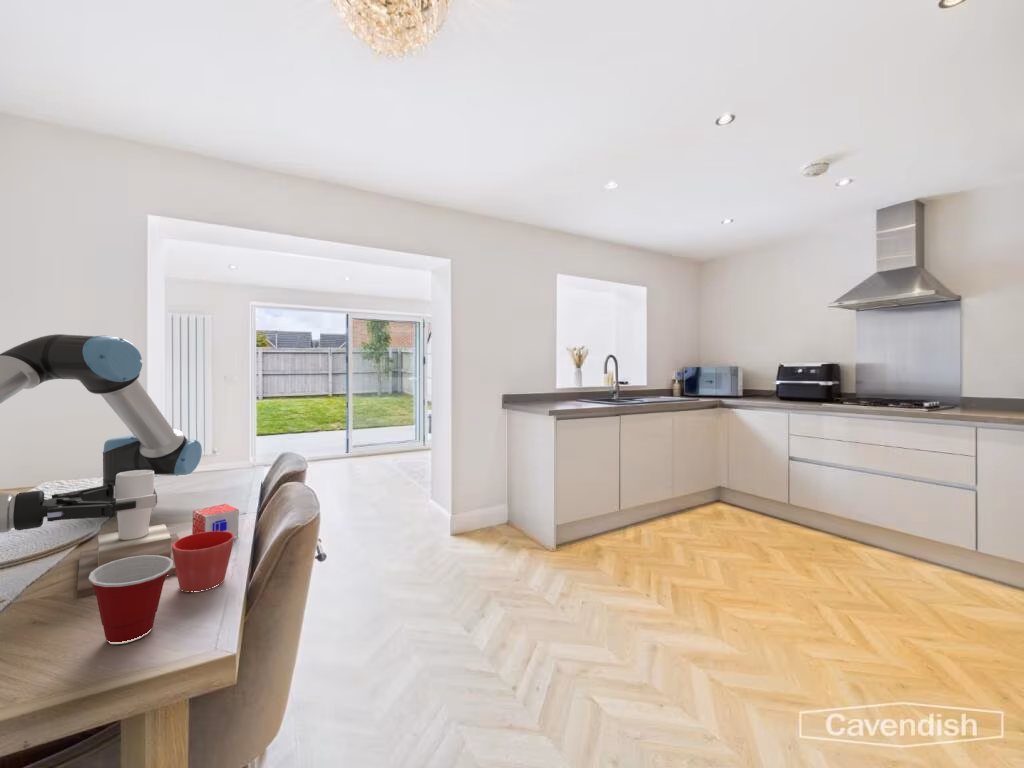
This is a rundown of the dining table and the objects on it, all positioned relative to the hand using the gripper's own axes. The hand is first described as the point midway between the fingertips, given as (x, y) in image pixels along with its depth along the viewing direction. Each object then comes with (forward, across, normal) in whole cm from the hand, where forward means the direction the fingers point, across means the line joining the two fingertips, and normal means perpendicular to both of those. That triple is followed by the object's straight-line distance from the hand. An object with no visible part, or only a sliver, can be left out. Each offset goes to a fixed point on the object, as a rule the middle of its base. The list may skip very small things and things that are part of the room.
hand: (152, 493), depth 99 cm
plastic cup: (-5, +34, -16) cm, 38 cm away
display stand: (-3, 0, -16) cm, 16 cm away
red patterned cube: (+14, -6, -16) cm, 22 cm away
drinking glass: (-3, 0, -10) cm, 10 cm away
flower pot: (+7, +21, -16) cm, 27 cm away
